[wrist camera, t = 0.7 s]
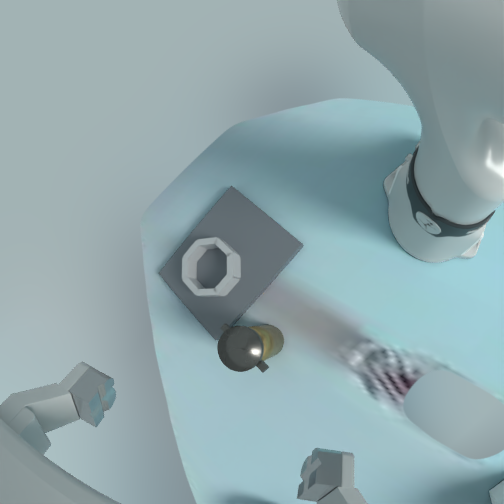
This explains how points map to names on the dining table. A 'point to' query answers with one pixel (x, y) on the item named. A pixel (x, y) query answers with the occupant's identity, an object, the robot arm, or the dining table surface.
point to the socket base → (213, 264)
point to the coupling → (249, 346)
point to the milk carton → (497, 493)
